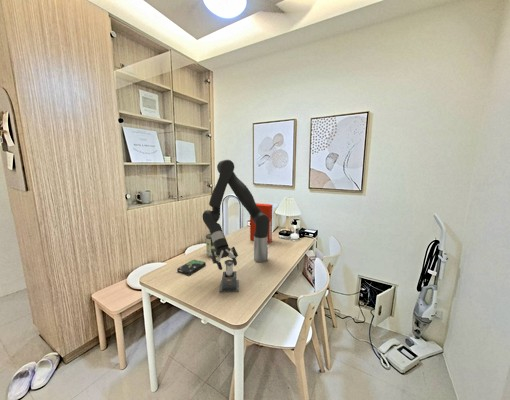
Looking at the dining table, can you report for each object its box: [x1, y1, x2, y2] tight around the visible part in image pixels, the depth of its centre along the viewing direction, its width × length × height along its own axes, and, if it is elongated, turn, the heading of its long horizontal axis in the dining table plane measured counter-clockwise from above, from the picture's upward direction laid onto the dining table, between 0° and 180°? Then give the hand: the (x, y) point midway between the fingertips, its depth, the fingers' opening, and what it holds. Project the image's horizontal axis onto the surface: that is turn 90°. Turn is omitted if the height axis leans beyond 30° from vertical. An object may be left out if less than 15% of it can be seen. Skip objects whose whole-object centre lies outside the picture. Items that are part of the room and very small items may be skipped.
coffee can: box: [205, 233, 218, 257], centre depth 156 cm, size 10×10×14 cm
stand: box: [219, 270, 240, 294], centre depth 114 cm, size 10×10×7 cm
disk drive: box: [177, 259, 207, 277], centre depth 134 cm, size 10×3×15 cm
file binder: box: [249, 202, 273, 244], centre depth 182 cm, size 8×17×32 cm, turn 67°
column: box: [224, 259, 234, 277], centre depth 113 cm, size 5×5×13 cm
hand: (228, 267), depth 113 cm, fingers open, 8 cm apart
